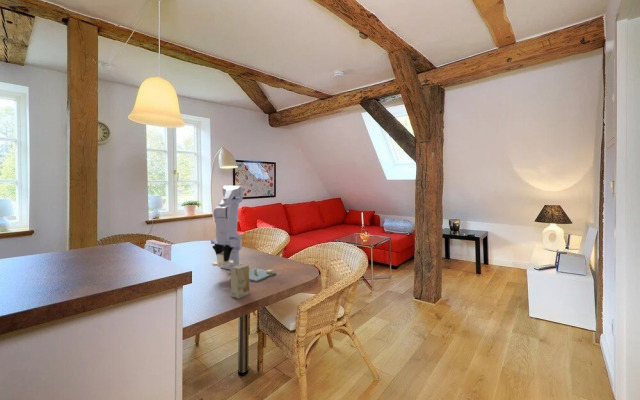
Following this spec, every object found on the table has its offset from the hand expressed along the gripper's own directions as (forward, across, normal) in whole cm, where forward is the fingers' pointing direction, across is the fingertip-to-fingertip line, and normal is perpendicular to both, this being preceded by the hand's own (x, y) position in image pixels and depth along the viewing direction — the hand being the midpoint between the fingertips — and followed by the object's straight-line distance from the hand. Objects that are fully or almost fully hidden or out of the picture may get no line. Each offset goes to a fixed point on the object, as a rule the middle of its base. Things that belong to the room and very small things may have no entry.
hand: (223, 260), depth 144 cm
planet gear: (+2, 0, 0) cm, 2 cm away
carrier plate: (+9, +10, +11) cm, 17 cm away
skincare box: (+9, +22, -11) cm, 26 cm away
